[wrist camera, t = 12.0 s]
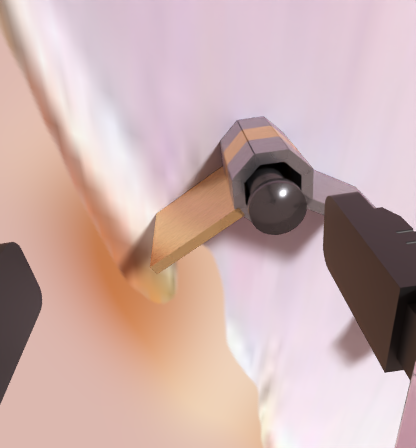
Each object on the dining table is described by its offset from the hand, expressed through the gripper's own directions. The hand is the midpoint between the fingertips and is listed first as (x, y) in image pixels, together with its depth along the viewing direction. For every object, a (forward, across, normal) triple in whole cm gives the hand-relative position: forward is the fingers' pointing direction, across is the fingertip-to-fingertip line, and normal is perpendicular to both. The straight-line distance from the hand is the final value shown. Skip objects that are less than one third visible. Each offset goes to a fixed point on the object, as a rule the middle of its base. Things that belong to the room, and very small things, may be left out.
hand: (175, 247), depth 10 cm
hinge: (+30, -7, +12) cm, 33 cm away
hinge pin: (+30, -6, +10) cm, 33 cm away
